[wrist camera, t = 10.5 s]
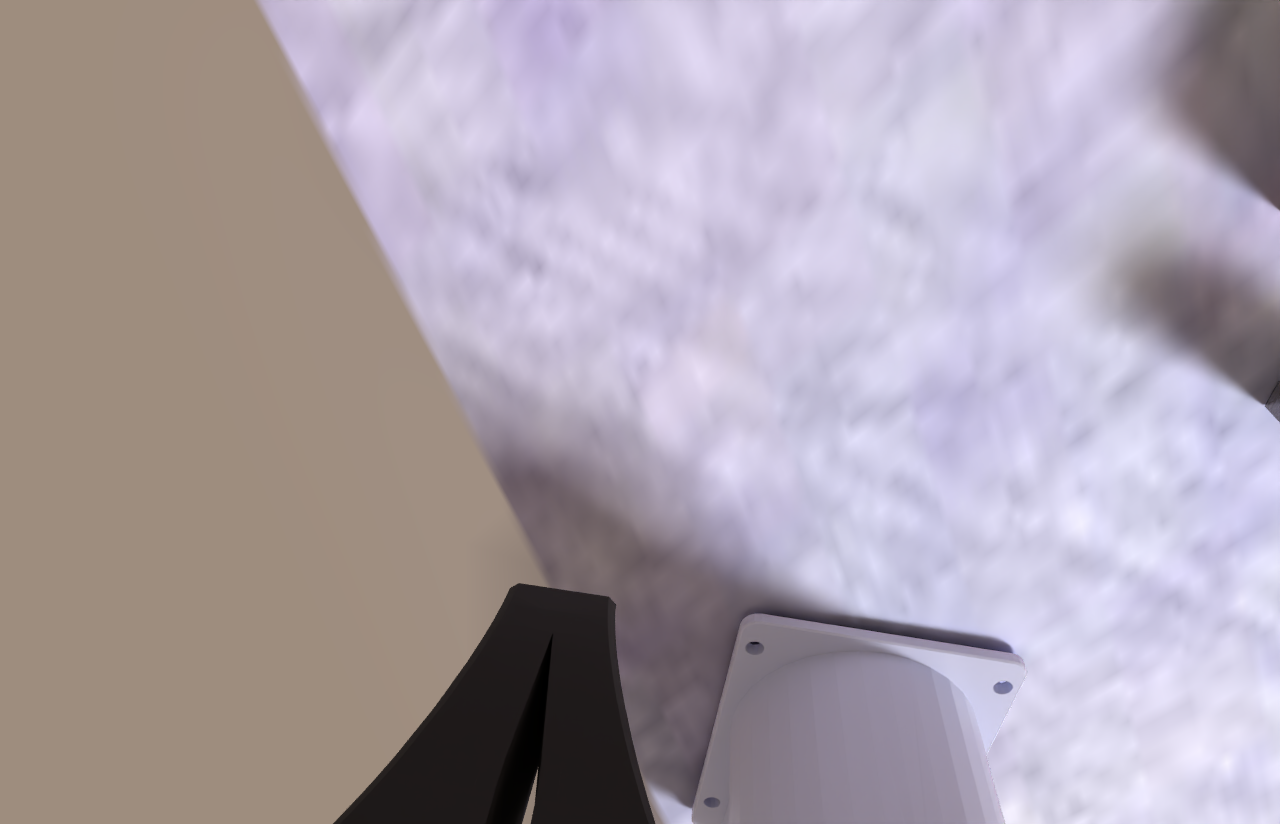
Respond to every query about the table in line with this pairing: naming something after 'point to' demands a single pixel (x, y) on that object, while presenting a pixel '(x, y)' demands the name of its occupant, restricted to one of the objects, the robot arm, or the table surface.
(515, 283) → the table surface
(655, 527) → the table surface
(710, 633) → the table surface
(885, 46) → the table surface
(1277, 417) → the set of grey posts
